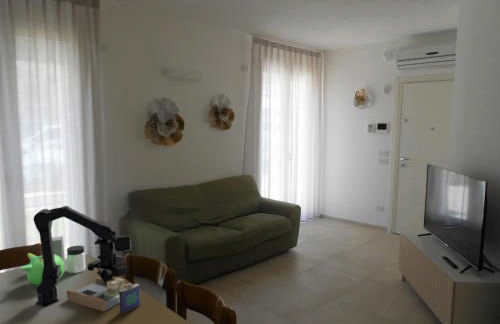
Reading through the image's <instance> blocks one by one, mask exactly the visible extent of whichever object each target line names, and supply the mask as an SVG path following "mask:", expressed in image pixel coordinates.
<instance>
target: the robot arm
mask: <svg viewBox="0 0 500 324" xmlns="http://www.w3.org/2000/svg"><path fill="white" fill-rule="evenodd" d="M61 218H66V219H67V220H70V221H71V222H74V223H76V224H78V225H80V226H82V227H85V228H86V229H88V230H90V231H91V232H92V233H93V234H94V235H96V236H97V239H96V240H95V241H94V242H93V244H94V245H98V247H99V255H97V259H96V260H94V261H92V262H91V261H90V262H89V263H88V264H87V271H90V272H93V271H94V270H95V268H96V269H97V272H96V275H98V277H100V278H101V279H102V280H103V282H104V283H105V285H106V287H107V281H109V280H111V279H114V278H119V277H121V276H123V275H126V274H128V269H129V268H128V267H127V266H126V265H124V262H125V256H123V255H122V256H121V255H117V253H120V252H130V251H132V241H131V235H130V234H127V235H120V236H119V235H118V233H117V232H116V231H115V230H114V227H113V225H112V224H111V223H109V222H105V221H101V220H98V219H97V220H96V219H94V218H92V217H90V216H87V215H85V214H83V213H81V212H80V211H77V210H75V209H73V208H72V207H70V206H68V205H63V206H61V207H56V208H52V209H48V208H43V209H41V210H39V211H38V212H37V213H36V214H35V215H34V216H33V222H34V225H35V228H36V230H37V232H38V233H39V239H40V247H41V248H40V249H41V255H42V256H43V264H44V268H43V273H42V281H41V282H40V284H39V285H37V286H36V288H35V290H36V293H37V301H36V302H35V305H38V306H40V307H45V308H46V307H48V306H50V305H52V304H55V303H57V302H59V301H60V299H59V298H58V289H57V288H56V287H57V286H56V284H57V283H58V281H59V280H60V279H61V278H60V275H61V274H62V272H61V269H60V268H61V265H57V264H56V263H55V258H54V250H53V242H52V238H53V236H52V226H53V221H56V220H58V219H61ZM114 250H115V251H116V252H117V253H115V251H114ZM98 259H99V260H98ZM118 264H119V265H118ZM59 278H60V279H59ZM58 279H59V280H58Z"/></svg>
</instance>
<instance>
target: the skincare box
mask: <svg viewBox="0 0 500 324" xmlns="http://www.w3.org/2000/svg"><path fill="white" fill-rule="evenodd" d="M52 242H53V250H54V254H55V255H57V256H59V257H60V258H61V259H62V260H63V262H64V266H65V265H66V256H65V246H64V237H63V236H55V237H53V236H52Z"/></svg>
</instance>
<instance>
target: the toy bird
mask: <svg viewBox="0 0 500 324" xmlns="http://www.w3.org/2000/svg"><path fill="white" fill-rule="evenodd" d="M27 258H28V259H29V260H30V262H29V263H28V264H25V265H23V266H21V267H20V268H19V269H20V270H21V271H24V272H26V276H27V280H28V281H29V282H30V283H31V284H33V285H35V286H38V285H39V284H40V282H41V281H42V273H43V268H44V264H43V256H42V254H40V255H38V256H37V255H35V254H33V253H31V252H29V253H27ZM54 258H55V263H56V264H57V265H61V268H60V269H61V272H62V274H61V275H60V278H59V279H58V281H59V280H60V279H61V278H62V276H63V275H64V273H65V265H64V262H63V260H62V259H61V258H60V257H59V256H57V255H55V254H54Z"/></svg>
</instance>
